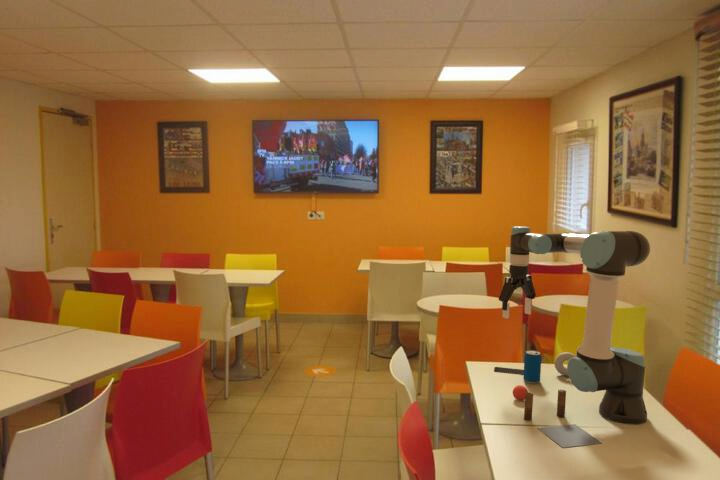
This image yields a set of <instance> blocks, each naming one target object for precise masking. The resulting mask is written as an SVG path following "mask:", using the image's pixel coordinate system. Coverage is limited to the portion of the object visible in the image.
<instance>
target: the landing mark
mask: <svg viewBox="0 0 720 480" xmlns="http://www.w3.org/2000/svg"><path fill="white" fill-rule="evenodd" d="M537 430H538V431H539V432H541V433H542V434H544V435H545V436H546V437H548V438H549V439H550V440H551V441H553V442H554V443H555V444H557V445H558V446H559V447H560V448H562V449H565V448H566V449H567V448H576V447H584V446H594V445H602V444H603V442H602V441H601V440H599V439H597V438H596V437H594V436H593V435H592V434H590V433H589V432H587V431H586V430H585V429H584V428H581V427H580V426H579V425H577V424H575V423H573V424H572V423H571V424H563V425H553V426H545V427H544V426H543V427H537Z"/></svg>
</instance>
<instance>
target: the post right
mask: <svg viewBox="0 0 720 480" xmlns="http://www.w3.org/2000/svg"><path fill="white" fill-rule="evenodd" d="M566 397H567V391H566V390H564V389H558V390H557V405H556V417H557V418H560V419H561V418H562V419H564V418H565V416H566V402H567V401H566V400H567V398H566Z"/></svg>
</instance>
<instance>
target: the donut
mask: <svg viewBox="0 0 720 480" xmlns="http://www.w3.org/2000/svg"><path fill="white" fill-rule="evenodd" d="M573 357H576V355H575V354H573V353H572V352H570V351H569V352H568V351H565V352H561V353H559V354H558V355H557V356H556V358H555V359H554V368H555V370H556V371H557V372H558V373H559V374H560V375H562V376H564V377H569V375H568V371H567V367H565V366H564V362H566V361H567V362H568V361H569V360H570V359H571V358H573Z"/></svg>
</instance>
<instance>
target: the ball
mask: <svg viewBox="0 0 720 480" xmlns="http://www.w3.org/2000/svg"><path fill="white" fill-rule="evenodd" d="M527 392H529V390H528V389H527V387H525V385H519V384H518V385H515V386H514V387H513V390H512V395H513V398H514V399H515V400H517V401H519V402H520V401H521V402H523V401H525V393H527Z"/></svg>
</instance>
